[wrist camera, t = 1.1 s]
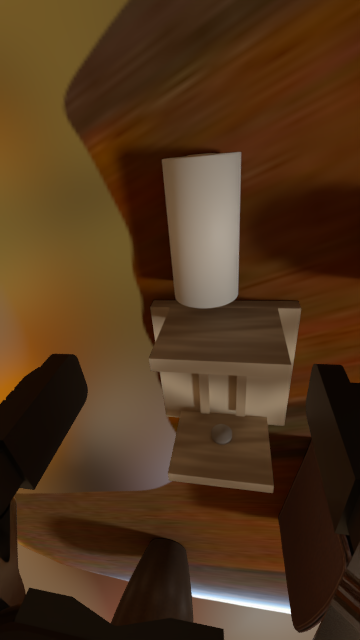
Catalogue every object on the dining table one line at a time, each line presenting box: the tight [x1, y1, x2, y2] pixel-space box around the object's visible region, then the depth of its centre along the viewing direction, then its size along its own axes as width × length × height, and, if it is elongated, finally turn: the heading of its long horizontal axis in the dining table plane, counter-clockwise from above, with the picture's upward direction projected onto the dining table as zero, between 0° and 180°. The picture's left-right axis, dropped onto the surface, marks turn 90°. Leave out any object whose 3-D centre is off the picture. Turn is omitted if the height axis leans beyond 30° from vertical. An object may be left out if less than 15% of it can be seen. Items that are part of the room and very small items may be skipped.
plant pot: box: [111, 539, 193, 626], centre depth 52 cm, size 15×15×16 cm
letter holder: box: [278, 440, 354, 633], centre depth 35 cm, size 10×20×14 cm, turn 178°
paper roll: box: [162, 152, 241, 308], centre depth 23 cm, size 11×6×6 cm, turn 4°
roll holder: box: [149, 300, 301, 493], centre depth 28 cm, size 15×14×10 cm
